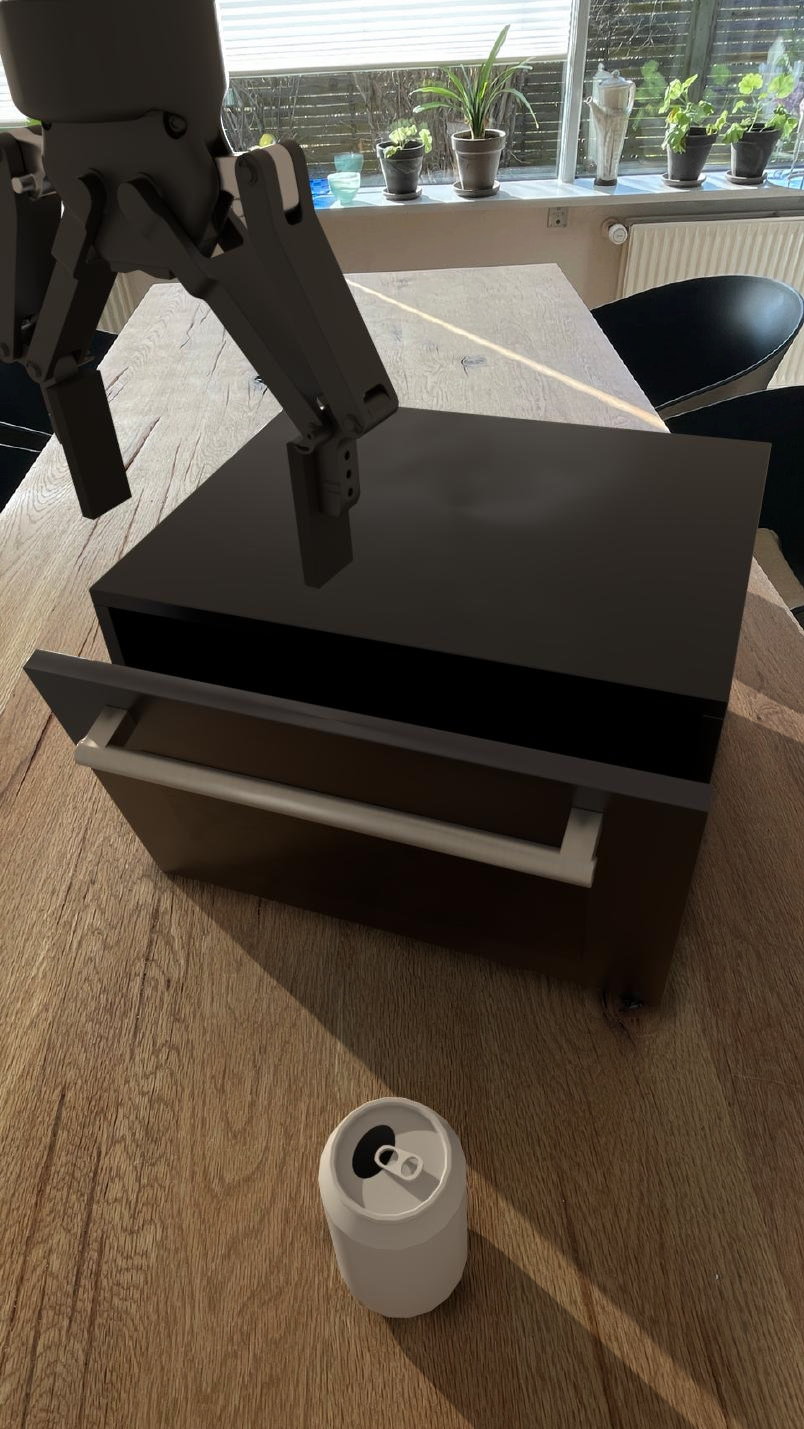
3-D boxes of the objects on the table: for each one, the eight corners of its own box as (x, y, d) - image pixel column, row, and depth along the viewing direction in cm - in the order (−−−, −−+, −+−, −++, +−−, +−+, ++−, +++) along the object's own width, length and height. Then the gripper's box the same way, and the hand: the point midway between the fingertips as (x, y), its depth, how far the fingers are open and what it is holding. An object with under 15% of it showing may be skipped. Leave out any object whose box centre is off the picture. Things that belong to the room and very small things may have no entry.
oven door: (651, 1060, 63) (697, 881, 43) (138, 912, 75) (-15, 716, 55) (665, 985, 66) (714, 784, 46) (169, 854, 78) (35, 647, 58)
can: (380, 1160, 58) (365, 1058, 51) (490, 1222, 55) (492, 1124, 48) (312, 1277, 54) (284, 1185, 46) (428, 1352, 51) (419, 1267, 43)
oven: (665, 985, 67) (729, 701, 50) (171, 854, 78) (87, 589, 61) (715, 703, 89) (771, 442, 72) (326, 634, 101) (295, 396, 84)
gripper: (488, -52, 28) (482, 563, 42) (-54, -30, 39) (82, 456, 53) (349, -35, 24) (393, 652, 37) (-226, -15, 34) (-27, 514, 48)
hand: (211, 538), depth 45 cm, fingers open, 13 cm apart
